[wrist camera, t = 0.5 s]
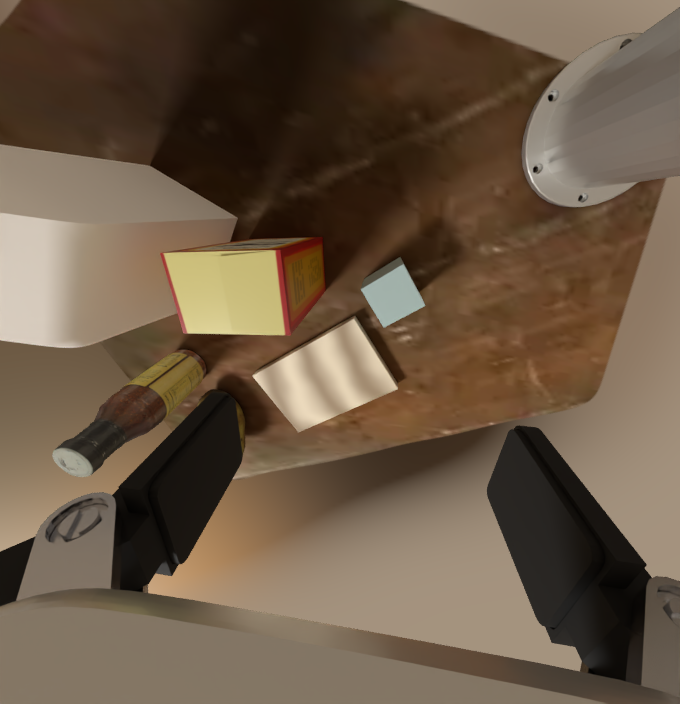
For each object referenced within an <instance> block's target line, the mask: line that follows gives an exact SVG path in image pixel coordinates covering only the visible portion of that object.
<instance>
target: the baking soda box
mask: <svg viewBox="0 0 680 704" xmlns="http://www.w3.org/2000/svg"><path fill="white" fill-rule="evenodd" d="M160 255H161V258H162V261H163V265H164V268H165V272H166V275H167V279H168V282H169V285H170V289H171V292H172V296H173V299H174V302H175V306H176V309H177V313H178V316H179V319H180V323H181V326H182V330H183V333H196V334H248V335H291V334H292V333H293V331H294V330H295V329H296V328H297V326H298V325H299V324H300V323H301V321H302V320H303V319H304V317H305V316H306V315H307V314H308V312H309V311H310V310H311V309H312V307H313V306H314V305H315V304H316V302H317V301H318V300H319V299H320V297H321V296H322V295H323V293H324V292H325V291H326V287H325V270H324V252H323V237H301V238H269V239H246V240H240V241H233V242H227V243H220V244H214V245H208V246H201V247H195V248H188V249H182V250H175V251H169V252H163V253H160Z"/></svg>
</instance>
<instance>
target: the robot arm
mask: <svg viewBox="0 0 680 704" xmlns="http://www.w3.org/2000/svg"><path fill="white" fill-rule="evenodd" d="M548 96H550V97H551V101H550V102H549V100H548ZM522 164H523V169H524V173H525V176H526V179H527V181H528V182H529V184H530V186H531V188H532V189H533V190H534V191H535V192H536V193H537V194H538V195H539V197H541V198H543V199H544V200H546V201H547V202H549V203H552V204H555V205H558V206H565V207H584V206H589V205H594V204H599V203H601V202H604V201H607V200H610V199H612V198H614V197H616V196H618V195H619V194H621V193H623V192H625V191H627V190H628V189H629V188H631V187H632V186H634V185H635V184H636V183H638V182H640V181H647V180H654V179H660V178H667V177H674V176H680V7H679V8H678V9H676V10H675V11H674V12H672V13H671V14H669V15H668V16H667V17H665V18H664V19H662V20H661V21H659V22H658V23H657V24H655V25H654V26H653V27H651V28H650V29H648V30H647V31H646V32H644V33H630V34H625V35H619V36H615V37H613V38H610V39H607V40H605V41H602V42H600V43H598V44H596V45H595V46H593V47H591V48H590V49H588V50H586V51H585V52H583V53H582V54H581V55H579V56H578V57H577V58H575V59H574V60H573V61H572V62H570V63H569V64H568V65H567V66H566V67H565V68H564V69H563V70H562V71H561V72H560V73H558V74H557V75H556V76H555V78H554V79H553V80H552V81H551V83H550V84H549V85H548V86H547V87H546V89H545V90H544V91H543V93H542V95H541V96H540V98H539V99H538V101H537V103H536V104H535V106H534V108H533V111H532V113H531V115H530V117H529V120H528V122H527V126H526V129H525V133H524V137H523V144H522ZM534 167H535V168H536V171H535V172H533V168H534ZM579 196H580V199H579V200H578V198H579ZM242 457H243V454H242V446H241V439H240V431H239V424H238V416H237V409H236V402H235V399H234V398H231V395H230V394H229V393H221V392H211V393H210V394H209V395H208V396H207V397H206V398H205V399H204V400H203V401H202V402H201V403H200V404H199V405H198V406H197V407H196V408H195V409H194V410H193V411H192V412H191V413H190V414H189V415H188V416H187V417H186V418H185V420H184V421H183V422H182V423H181V424H180V425H179V426H178V427H177V428H176V429H175V430H174V431H173V432H172V433H171V434H170V435H169V436H168V437H167V438H166V439H165V440H164V441H163V442H162V443H161V444H160V445H159V446H158V447H157V448H156V449H155V450H154V451H153V452H152V453H151V454H150V455H149V456H148V457H147V458H146V459H145V460H144V461H143V463H141V464H140V465H139V466H138V467H137V469H136V470H135V471H134V472H133V473H132V474H131V475H130V476H129V477H128V478H127V479H126V480H125V481H124V482H123V483H122V484H121V485H120V486H119V489H118V490H117V491H116V492H115V493H114V494H113V495H110V494H108V493H104V492H99V493H91V494H87V495H84V496H81V497H78V498H76V499H74V500H72V501H70V502H68V503H66V504H65V505H63V506H61V507H60V508H58V509H57V510H56V511H55V512H54V513H52V514H51V515H50V516H49V517H48V518H47V519H46V520H45V521H44V523H43V524H42V525H41V526H40V528H39V530H38V532H37V534H36V536H35V537H33V538H31V539H29V540H26V541H24V542H22V543H19V544H17V545H15V546H12V547H10V548H8V549H6V550H3V551H1V552H0V704H680V581H677V580H674V579H671V578H668V577H658V576H656V577H654V578H652V577H651V576H650V575H649V574H648V572H647V571H646V570H645V566H646V563H645V562H644V561H643V559H642V558H641V557H640V556H639V554H638V553H637V552H636V551H635V549H634V548H633V547H632V546H631V544H630V543H629V542H628V540H627V539H626V538H625V537H624V536H623V534H622V533H621V532H620V530H619V529H618V528H617V526H616V525H615V524H614V523H613V522H612V520H611V519H610V518H609V516H608V515H607V514H606V512H605V511H604V510H603V509H602V507H601V506H600V505H599V504H598V503H597V501H596V500H595V498H594V497H593V496H592V495H591V494H590V492H589V491H588V490H587V488H586V487H585V486H584V484H583V483H582V482H581V481H580V479H579V478H578V477H577V476H576V474H575V473H574V472H573V471H572V470H571V468H570V467H569V465H568V464H567V463H566V462H565V460H564V459H563V458H562V457H561V455H560V454H559V453H558V452H557V450H556V449H555V448H554V447H553V445H552V444H551V443H550V441H549V440H548V439H547V438H546V436H545V435H544V434H543V432H542V431H541V430H540V429H539V428H536V427H527V426H516V427H515V428H514V430H513V429H512V430H510V431H509V432H508V435H507V437H506V440H505V442H504V445H503V448H502V450H501V453H500V455H499V458H498V461H497V463H496V466H495V469H494V471H493V474H492V476H491V479H490V481H489V484H488V487H487V495H488V499H489V501H490V504H491V506H492V509H493V511H494V513H495V516H496V519H497V521H498V524H499V526H500V529H501V531H502V534H503V536H504V539H505V541H506V544H507V546H508V549H509V551H510V554H511V556H512V559H513V561H514V564H515V566H516V569H517V571H518V573H519V576H520V579H521V581H522V583H523V586H524V589H525V591H526V594H527V596H528V599H529V601H530V604H531V606H532V609H533V611H534V613H535V616H536V618H537V620H538V621H539V623H540V624H541V625H542V626H545V627H546V630H547V632H548V635H549V637H550V639H551V642H552V643H556V644H562V645H568V646H573V647H576V649H577V652H578V654H579V656H580V658H581V660H582V663H581V668H580V672H579V671H573V670H569V669H564V668H559V667H555V666H550V665H545V664H541V663H535V662H530V661H525V660H519V659H514V658H509V657H503V656H498V655H493V654H487V653H481V652H477V651H471V650H466V649H461V648H455V647H450V646H445V645H439V644H434V643H429V642H424V641H417V640H413V639H407V638H402V637H396V636H391V635H385V634H379V633H374V632H369V631H363V630H358V629H352V628H347V627H341V626H336V625H330V624H324V623H319V622H314V621H308V620H302V619H297V618H291V617H285V616H280V615H275V614H268V613H262V612H257V611H251V610H246V609H240V608H234V607H229V606H223V605H218V604H212V603H206V602H200V601H195V600H189V599H182V598H175V597H169V596H162V595H156V594H149V593H148V584H149V582H150V581H151V579H152V578H153V576H154V574H155V573H157V574H163V575H168V576H172V575H173V573H174V572H175V570H176V568H177V566H178V565H179V564H182V563H184V562H185V561H186V559H187V558H188V556H189V555H190V553H191V551H192V549H193V548H194V546H195V544H196V542H197V540H198V539H199V537H200V535H201V533H202V532H203V530H204V528H205V526H206V524H207V523H208V521H209V519H210V517H211V516H212V514H213V512H214V510H215V509H216V507H217V505H218V503H219V502H220V500H221V498H222V496H223V495H224V493H225V491H226V489H227V487H228V486H229V484H230V482H231V480H232V479H233V477H234V475H235V473H236V472H237V470H238V468H239V466H240V464H241V462H242Z"/></svg>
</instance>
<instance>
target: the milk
mask: <svg viewBox="0 0 680 704" xmlns="http://www.w3.org/2000/svg"><path fill="white" fill-rule="evenodd" d="M237 219H238V218H237V217H235V216H234V215H232V214H230V213H229V212H227V211H225V210H224V209H222V208H220V207H219V206H217V205H215V204H213V203H212V202H210V201H208V200H207V199H205V198H203V197H202V196H200V195H198V194H197V193H195V192H193V191H191V190H190V189H188V188H186V187H185V186H183V185H181V184H180V183H178V182H176V181H175V180H173V179H171V178H169V177H168V176H166V175H164V174H163V173H161V172H159V171H158V170H156V169H154V168H153V167H151V166H147V165H140V164H133V163H126V162H119V161H112V160H105V159H98V158H91V157H84V156H77V155H70V154H63V153H56V152H49V151H42V150H35V149H28V148H20V147H13V146H6V145H0V340H3V341H10V342H18V343H25V344H33V345H40V346H41V345H42V346H50V347H61V348H75V347H84V346H87V345H91V344H94V343H97V342H100V341H103V340H105V339H108V338H111V337H113V336H116V335H119V334H121V333H124V332H127V331H130V330H132V329H135V328H138V327H140V326H143V325H146V324H149V323H151V322H154V321H157V320H159V319H162V318H165V317H168V316H170V315H173V314H176V313H177V309H176V306H175V302H174V299H173V296H172V292H171V289H170V285H169V282H168V279H167V275H166V272H165V268H164V265H163V261H162V258H161V255H160V253H163V252H169V251H175V250H182V249H188V248H195V247H201V246H208V245H214V244H220V243H227V242H230V240H231V237H232V234H233V231H234V228H235V225H236V222H237Z"/></svg>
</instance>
